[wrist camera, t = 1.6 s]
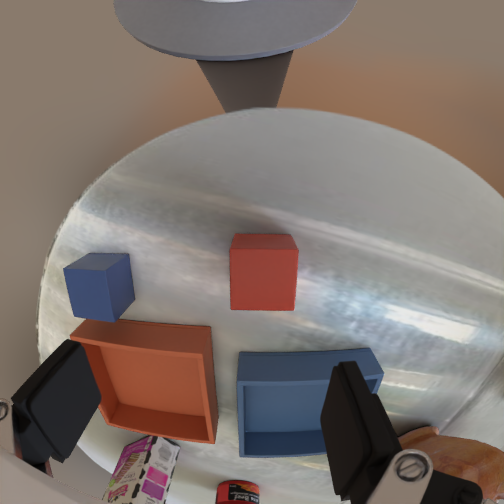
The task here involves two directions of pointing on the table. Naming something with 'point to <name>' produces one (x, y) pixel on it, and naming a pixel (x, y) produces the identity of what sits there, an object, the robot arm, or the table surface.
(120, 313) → the blue block
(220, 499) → the canned food
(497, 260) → the table surface
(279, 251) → the red block
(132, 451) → the candy bar box
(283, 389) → the blue bin
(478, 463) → the jug
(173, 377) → the rust bin
